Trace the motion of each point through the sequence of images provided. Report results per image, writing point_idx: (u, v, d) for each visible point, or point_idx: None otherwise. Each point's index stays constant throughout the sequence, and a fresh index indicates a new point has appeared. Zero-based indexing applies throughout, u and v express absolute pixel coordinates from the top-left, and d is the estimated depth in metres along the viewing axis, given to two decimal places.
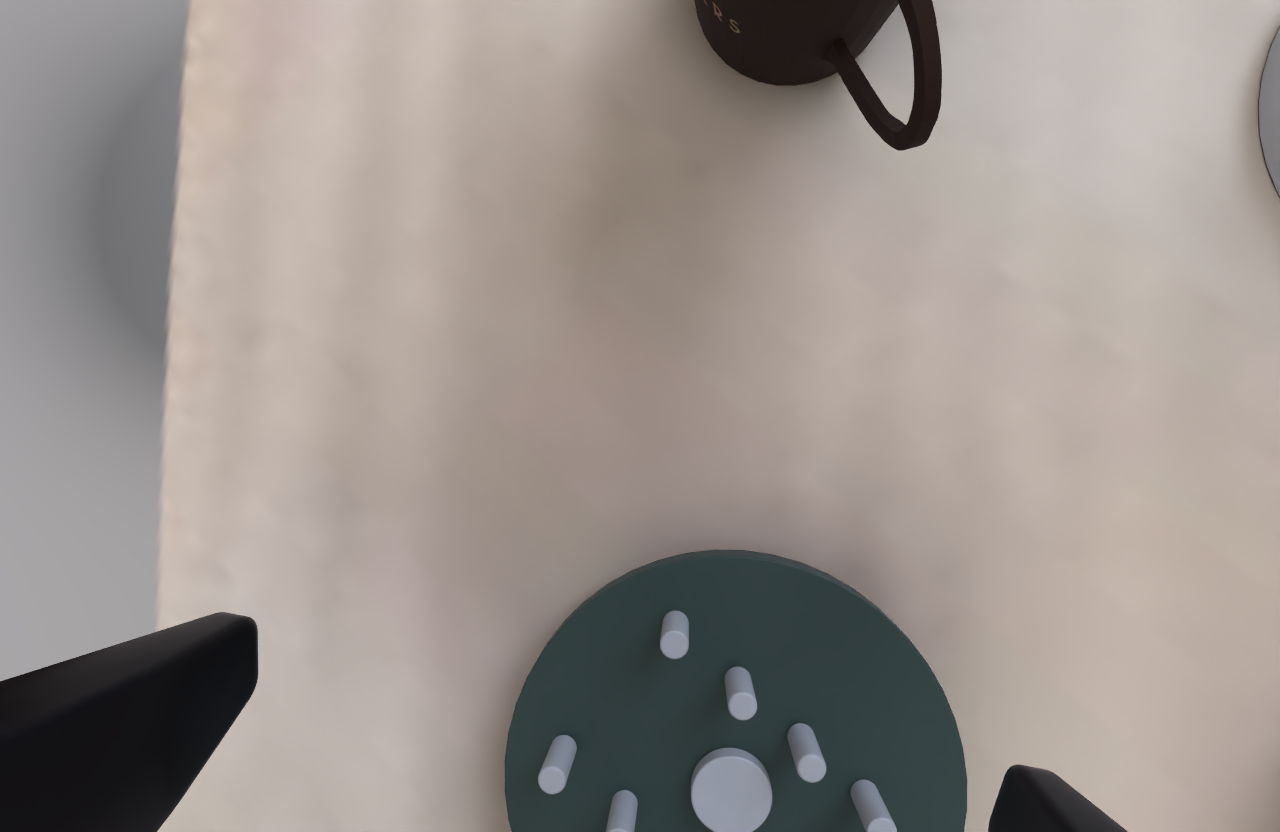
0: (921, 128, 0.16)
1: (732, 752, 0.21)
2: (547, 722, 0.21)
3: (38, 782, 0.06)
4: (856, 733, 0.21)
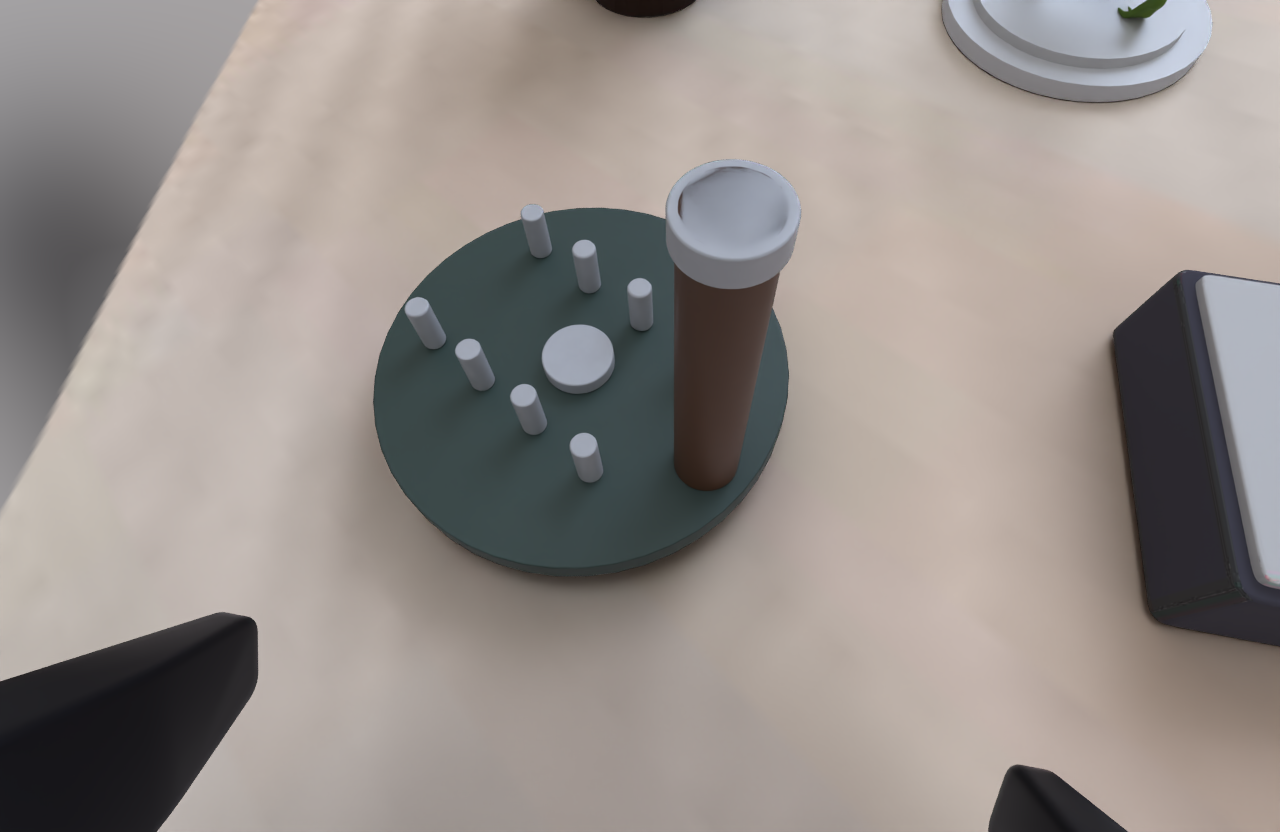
0: None
1: None
2: None
3: (38, 782, 0.06)
4: None
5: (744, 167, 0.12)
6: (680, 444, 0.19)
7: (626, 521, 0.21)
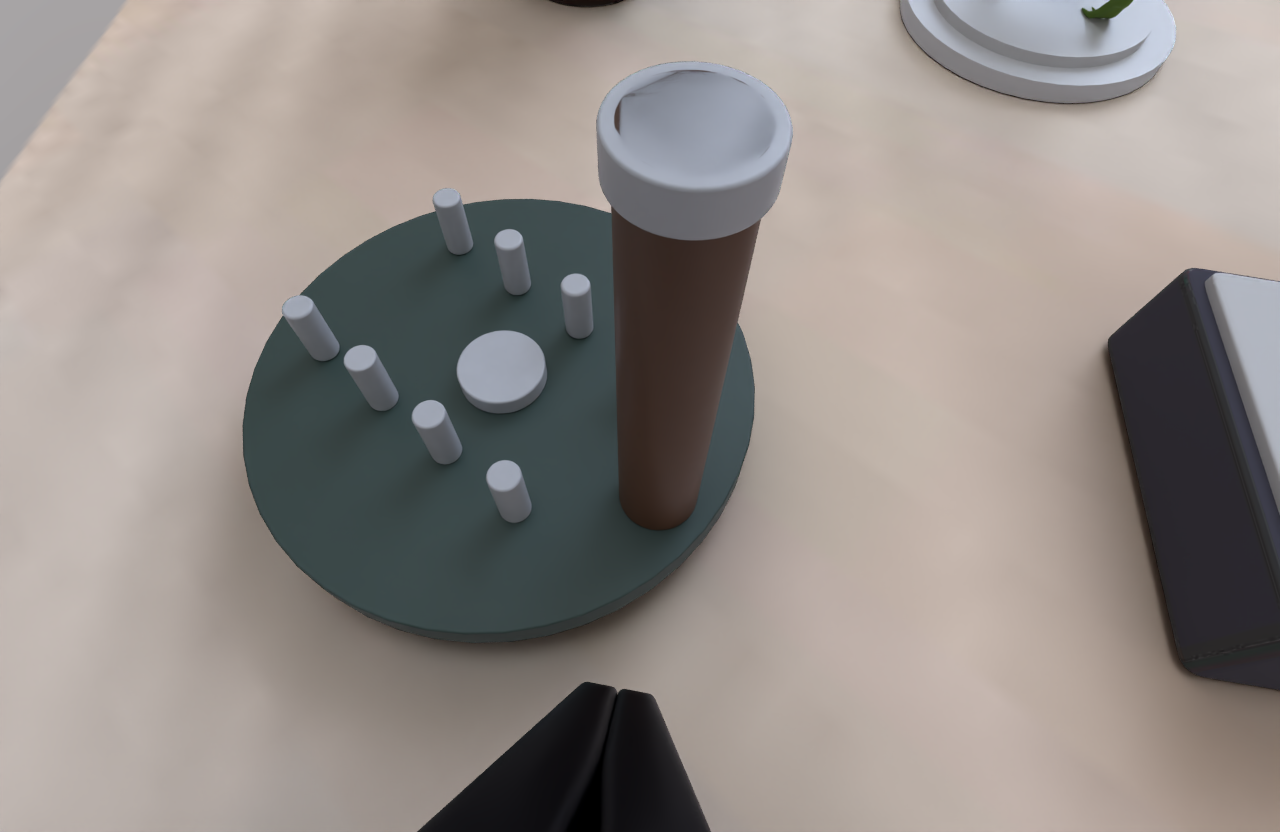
0: None
1: None
2: None
3: None
4: None
5: (709, 71, 0.08)
6: (626, 472, 0.15)
7: (560, 570, 0.17)
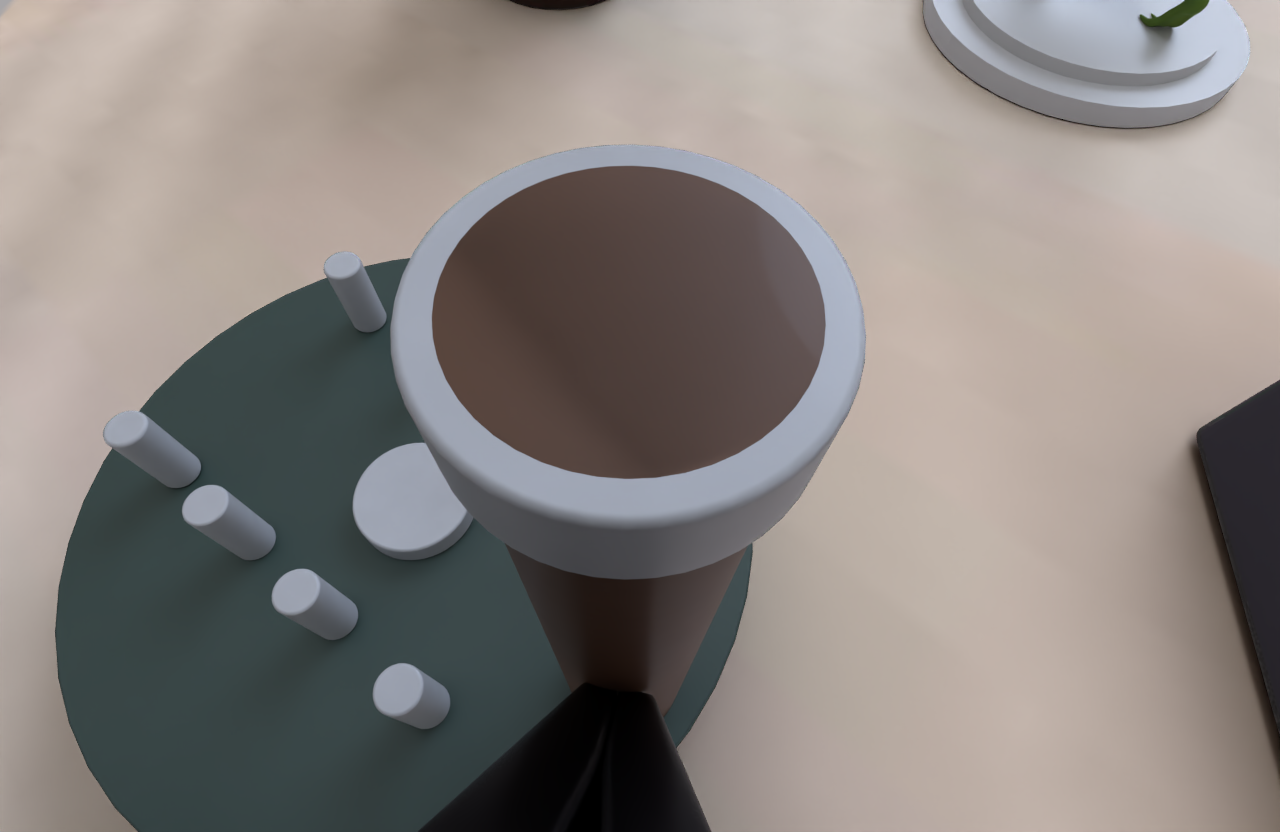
0: None
1: None
2: None
3: None
4: None
5: (667, 170, 0.04)
6: (572, 691, 0.10)
7: None
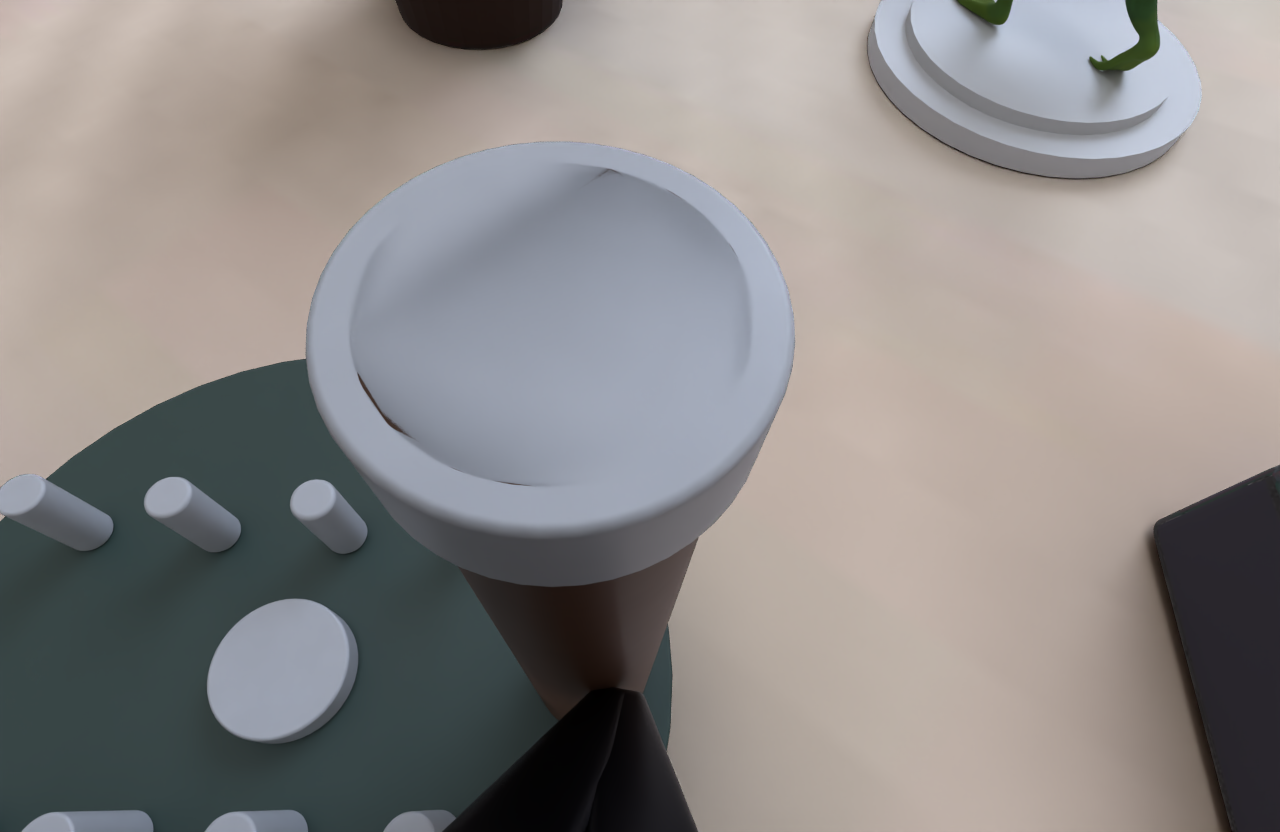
0: None
1: None
2: None
3: None
4: None
5: (489, 174, 0.04)
6: None
7: None
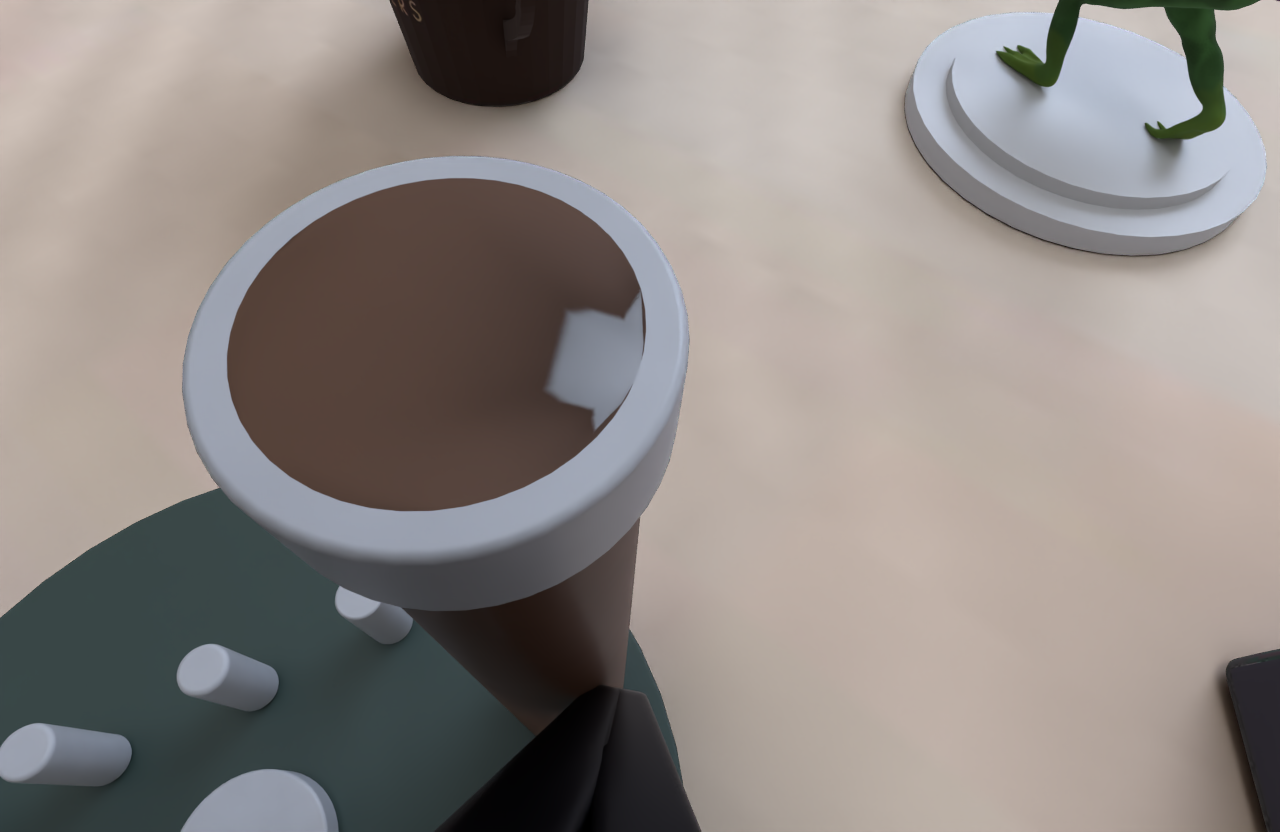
0: None
1: None
2: None
3: None
4: (306, 600, 0.13)
5: (307, 227, 0.03)
6: None
7: None
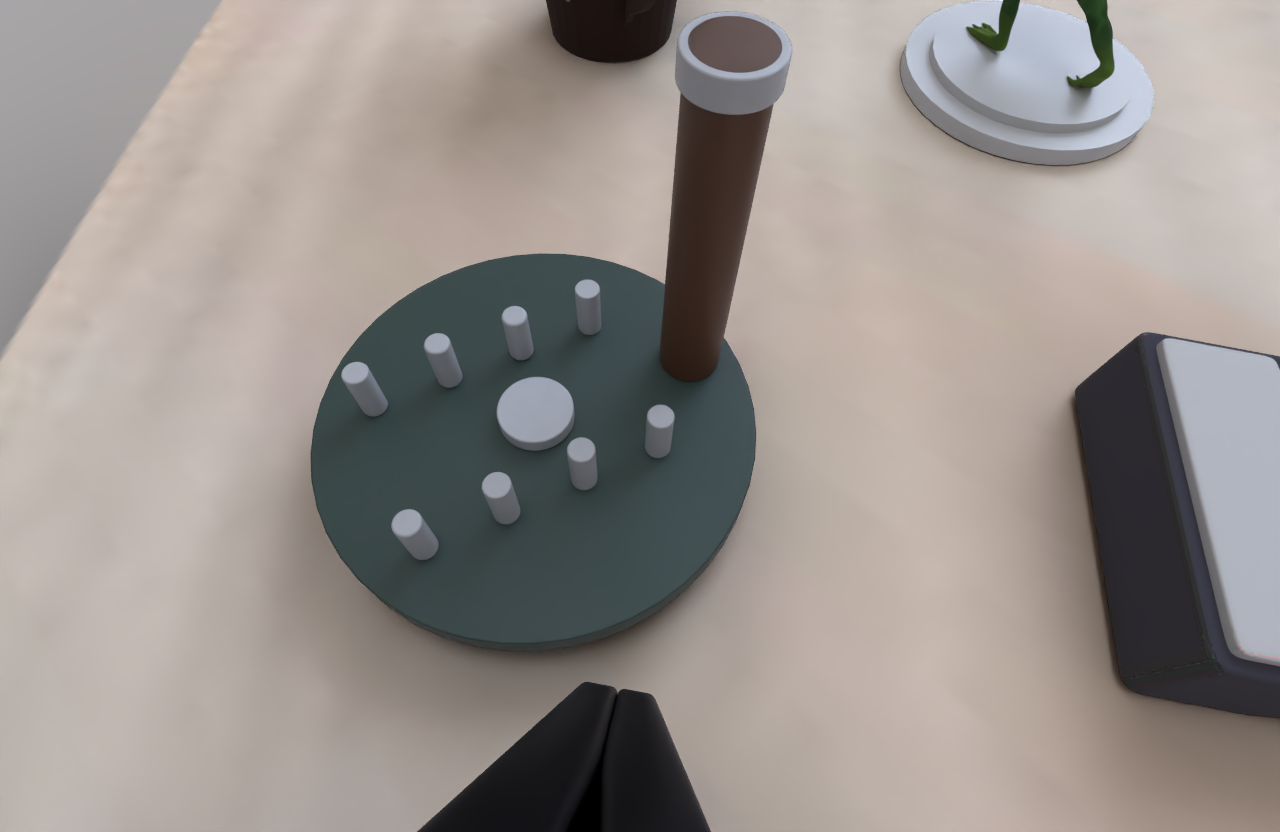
0: None
1: None
2: (393, 555, 0.20)
3: None
4: (541, 315, 0.24)
5: (697, 25, 0.14)
6: (704, 335, 0.21)
7: (719, 435, 0.22)
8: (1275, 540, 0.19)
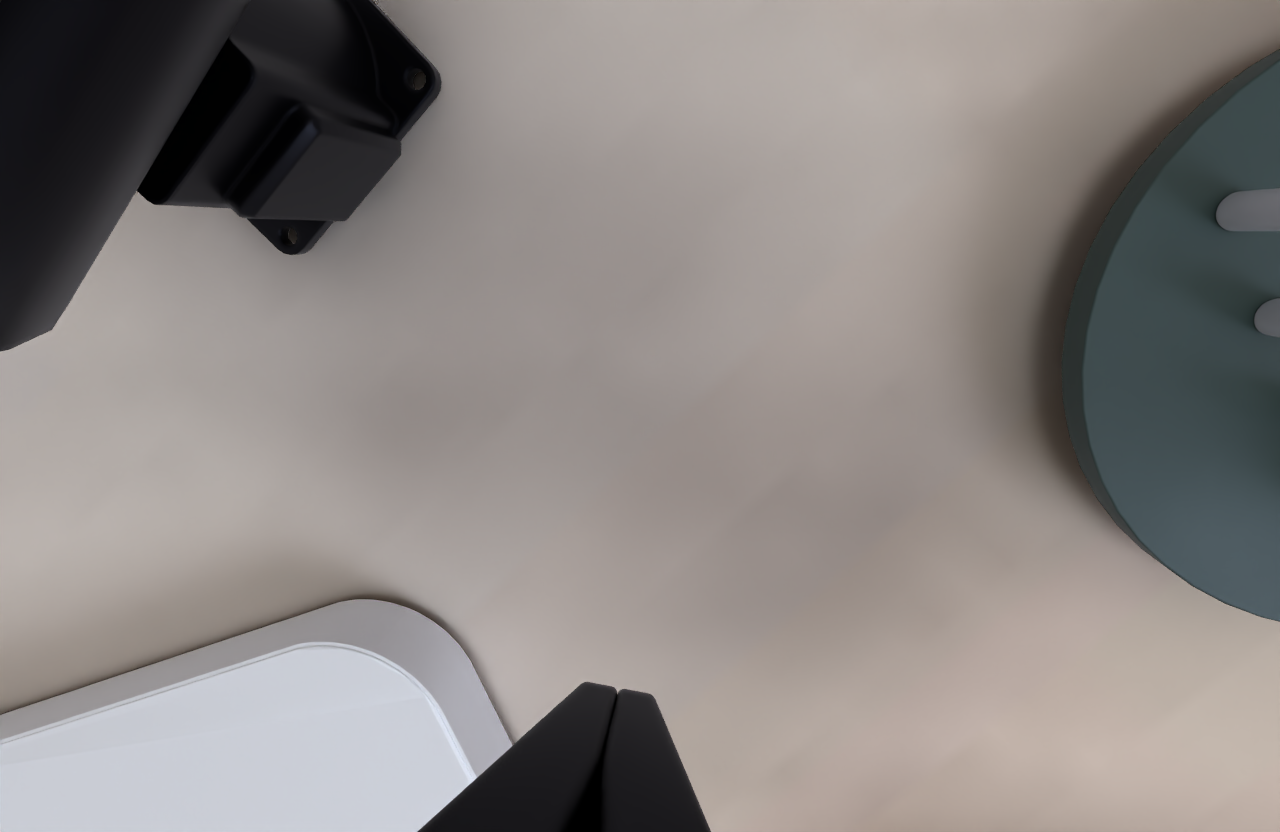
0: None
1: None
2: (1229, 168, 0.14)
3: None
4: None
5: None
6: None
7: None
8: None
